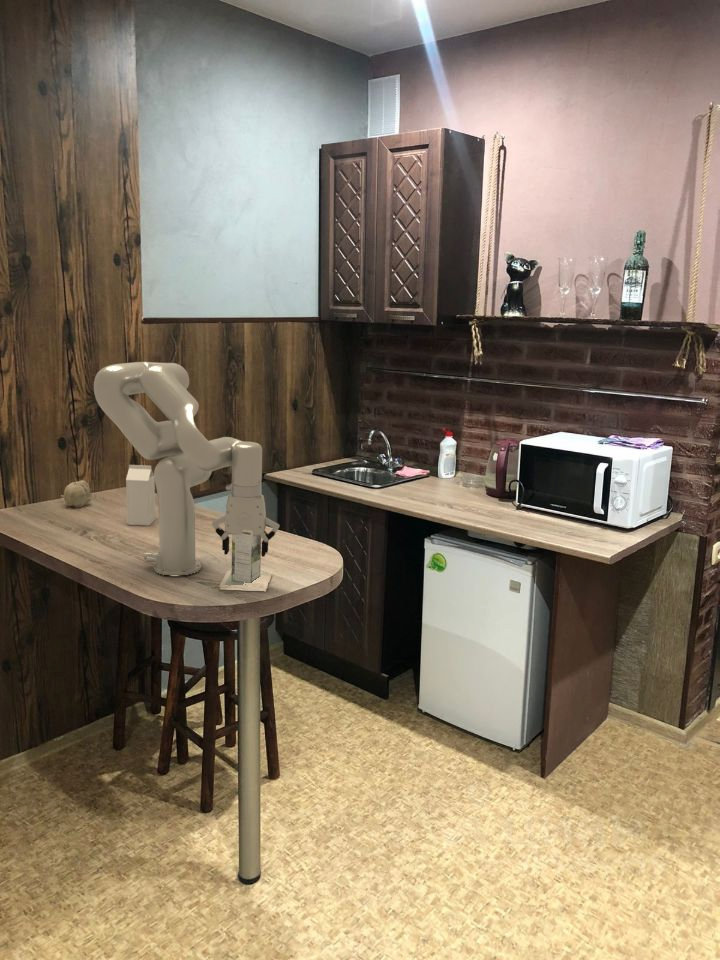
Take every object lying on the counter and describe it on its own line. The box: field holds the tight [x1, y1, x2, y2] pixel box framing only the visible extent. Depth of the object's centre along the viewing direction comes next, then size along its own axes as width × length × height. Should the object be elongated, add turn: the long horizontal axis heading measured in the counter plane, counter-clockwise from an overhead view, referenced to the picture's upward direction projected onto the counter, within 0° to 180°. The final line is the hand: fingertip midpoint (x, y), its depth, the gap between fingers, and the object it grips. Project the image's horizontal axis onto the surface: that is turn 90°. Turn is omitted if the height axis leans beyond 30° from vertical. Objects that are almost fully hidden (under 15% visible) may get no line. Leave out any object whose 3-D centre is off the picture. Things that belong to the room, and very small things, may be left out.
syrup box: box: [231, 529, 262, 583], centre depth 207 cm, size 6×6×14 cm
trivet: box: [218, 570, 265, 588], centre depth 208 cm, size 12×12×1 cm
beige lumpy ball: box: [60, 480, 92, 508], centre depth 272 cm, size 9×8×10 cm
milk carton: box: [125, 464, 156, 526], centre depth 255 cm, size 7×7×19 cm
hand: (245, 553), depth 207 cm, fingers open, 9 cm apart
